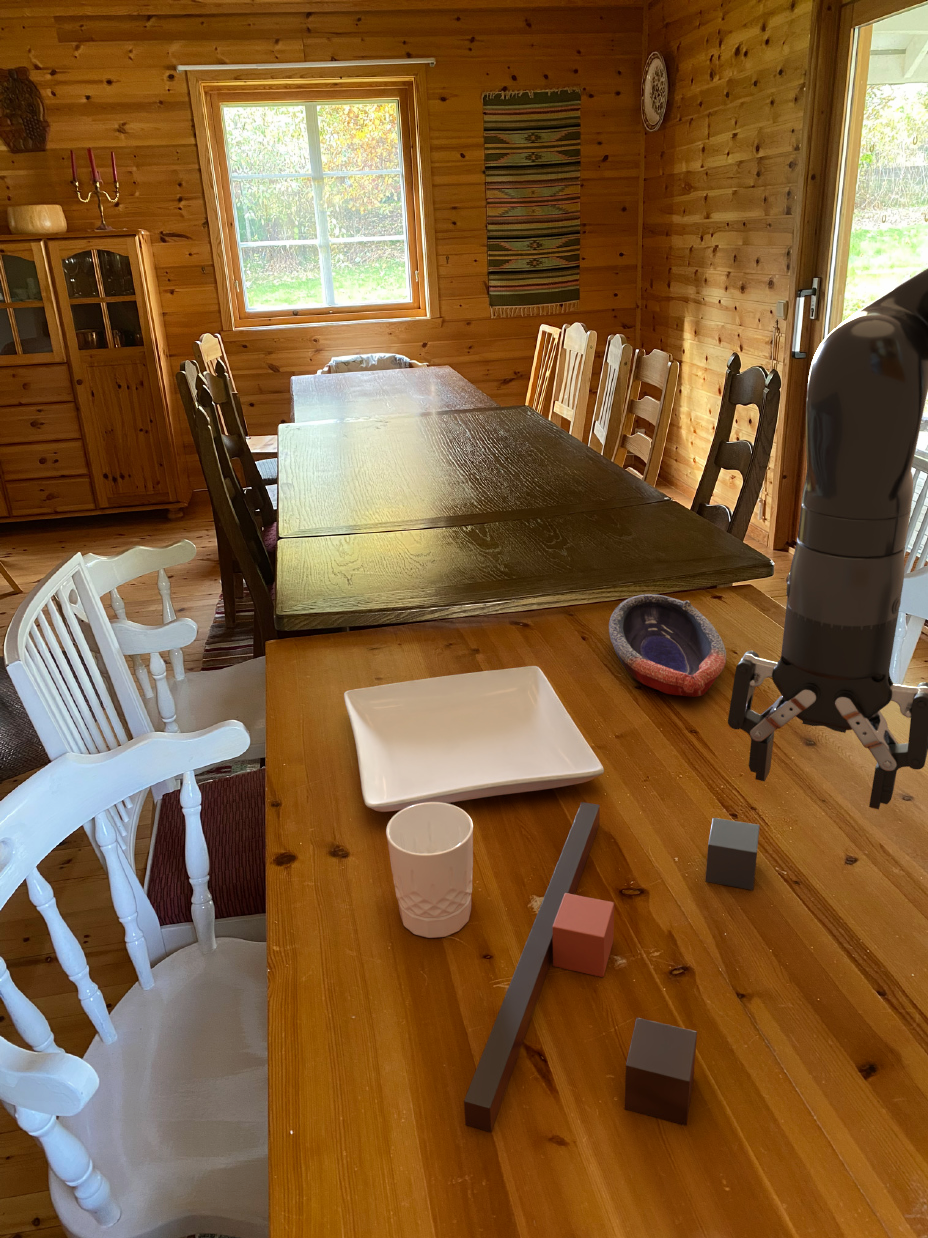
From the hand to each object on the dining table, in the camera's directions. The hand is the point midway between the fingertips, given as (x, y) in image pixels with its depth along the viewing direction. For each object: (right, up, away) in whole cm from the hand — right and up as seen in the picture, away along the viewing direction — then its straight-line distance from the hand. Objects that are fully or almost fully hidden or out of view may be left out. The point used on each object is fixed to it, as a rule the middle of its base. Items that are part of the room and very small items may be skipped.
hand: (817, 789), depth 72 cm
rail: (-21, -16, +10) cm, 28 cm away
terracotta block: (-17, -16, +9) cm, 26 cm away
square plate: (-28, -3, +41) cm, 50 cm away
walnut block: (-13, -22, -4) cm, 26 cm away
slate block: (-1, -12, +18) cm, 22 cm away
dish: (+1, +7, +61) cm, 61 cm away
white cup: (-31, -15, +15) cm, 37 cm away
